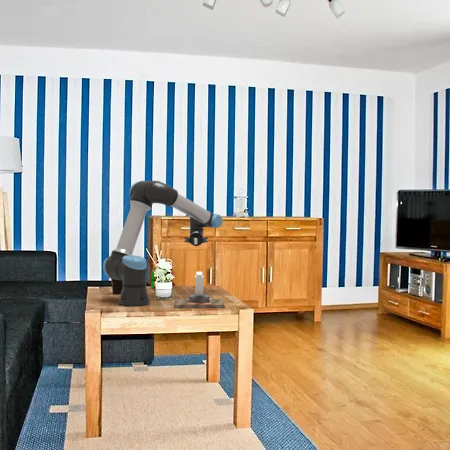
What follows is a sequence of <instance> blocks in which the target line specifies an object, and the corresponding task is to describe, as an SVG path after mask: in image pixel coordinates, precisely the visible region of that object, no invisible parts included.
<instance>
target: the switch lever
mask: <svg viewBox="0 0 450 450" xmlns="http://www.w3.org/2000/svg"><path fill="white" fill-rule="evenodd" d="M195 273H196V274H195V275H194V290H195V291H194V295H195V296H203V295H204V275H203V271H196V272H195Z"/></svg>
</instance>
